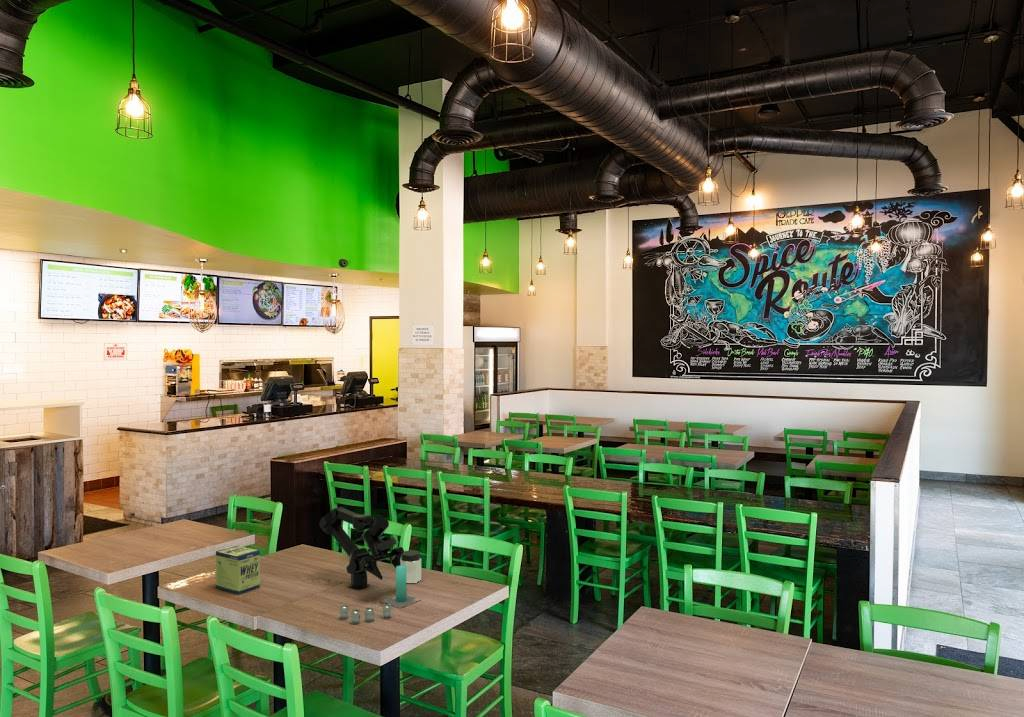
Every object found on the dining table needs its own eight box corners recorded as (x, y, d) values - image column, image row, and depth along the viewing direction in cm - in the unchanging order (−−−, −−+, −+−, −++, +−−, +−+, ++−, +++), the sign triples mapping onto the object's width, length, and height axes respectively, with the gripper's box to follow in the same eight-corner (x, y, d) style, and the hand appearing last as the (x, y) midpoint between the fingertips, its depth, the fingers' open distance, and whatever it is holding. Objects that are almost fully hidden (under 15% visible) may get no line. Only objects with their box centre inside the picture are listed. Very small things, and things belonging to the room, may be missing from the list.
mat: (380, 602, 272) (380, 601, 272) (401, 594, 281) (401, 593, 281) (400, 608, 266) (400, 607, 266) (421, 600, 275) (421, 599, 275)
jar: (424, 581, 298) (424, 553, 298) (408, 585, 293) (407, 556, 293) (413, 576, 305) (413, 548, 305) (397, 580, 299) (396, 552, 299)
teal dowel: (394, 601, 272) (394, 568, 272) (397, 598, 276) (397, 565, 276) (404, 602, 271) (405, 568, 271) (407, 598, 275) (407, 565, 275)
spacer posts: (336, 618, 256) (336, 607, 256) (365, 607, 267) (365, 597, 267) (364, 628, 247) (364, 616, 247) (393, 616, 258) (393, 605, 258)
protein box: (239, 595, 282) (239, 556, 282) (214, 588, 290) (214, 550, 290) (260, 587, 291) (260, 550, 291) (236, 581, 299) (236, 545, 299)
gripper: (363, 536, 273) (380, 571, 266) (401, 526, 287) (418, 559, 280) (351, 552, 279) (368, 586, 272) (389, 542, 293) (406, 574, 286)
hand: (391, 576), depth 277 cm, fingers open, 9 cm apart
